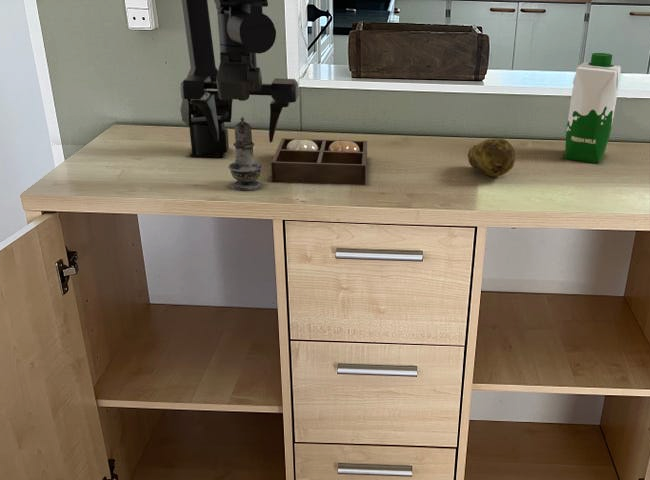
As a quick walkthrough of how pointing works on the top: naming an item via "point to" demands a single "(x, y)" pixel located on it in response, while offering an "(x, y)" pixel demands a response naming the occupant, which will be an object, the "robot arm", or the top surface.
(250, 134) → the grey chess piece
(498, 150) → the potato
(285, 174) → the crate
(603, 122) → the milk carton
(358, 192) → the top surface
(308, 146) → the cream egg
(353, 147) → the brown egg
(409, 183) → the top surface
